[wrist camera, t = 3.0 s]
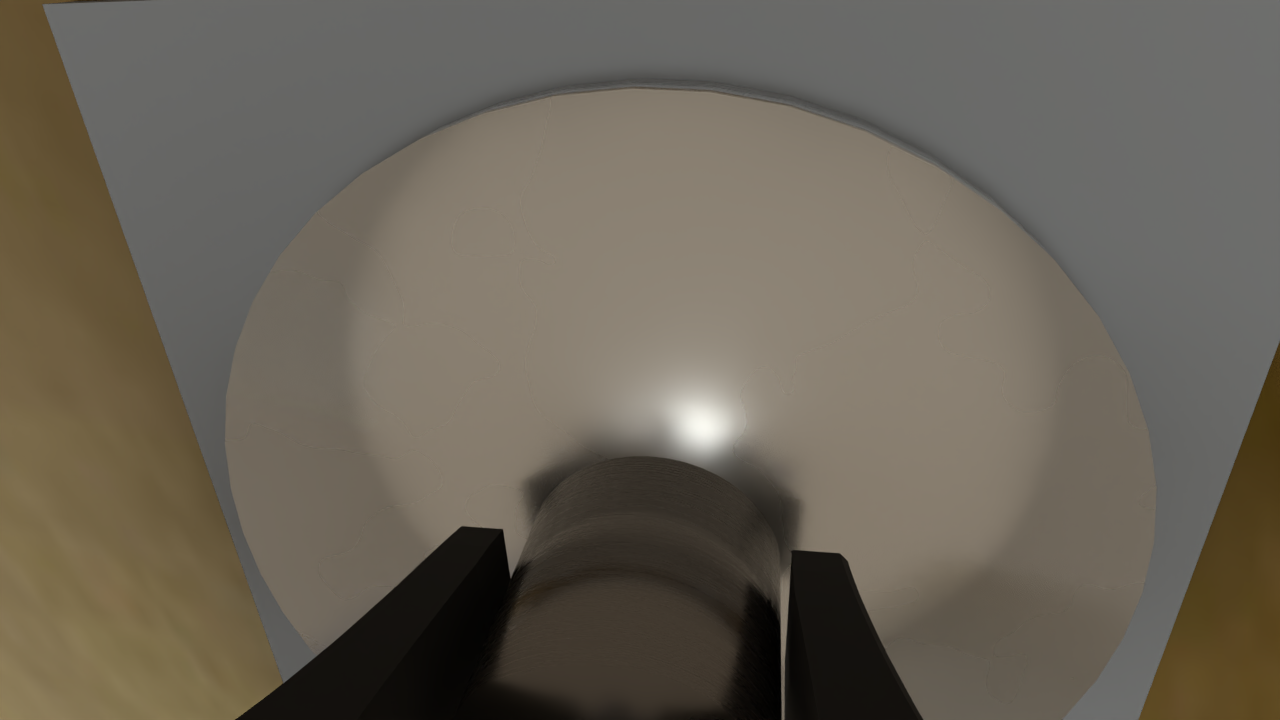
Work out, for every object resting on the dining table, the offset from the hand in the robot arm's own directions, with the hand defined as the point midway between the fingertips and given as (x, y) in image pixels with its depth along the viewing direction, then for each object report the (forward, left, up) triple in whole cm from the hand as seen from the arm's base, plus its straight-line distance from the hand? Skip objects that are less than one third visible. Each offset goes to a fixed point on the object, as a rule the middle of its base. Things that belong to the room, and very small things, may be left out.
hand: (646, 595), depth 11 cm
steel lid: (0, 0, -2) cm, 2 cm away
